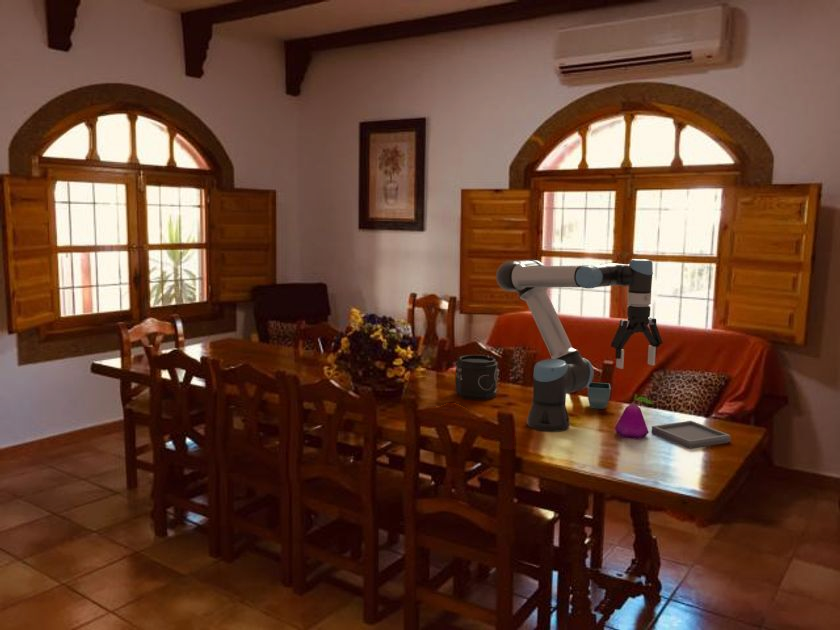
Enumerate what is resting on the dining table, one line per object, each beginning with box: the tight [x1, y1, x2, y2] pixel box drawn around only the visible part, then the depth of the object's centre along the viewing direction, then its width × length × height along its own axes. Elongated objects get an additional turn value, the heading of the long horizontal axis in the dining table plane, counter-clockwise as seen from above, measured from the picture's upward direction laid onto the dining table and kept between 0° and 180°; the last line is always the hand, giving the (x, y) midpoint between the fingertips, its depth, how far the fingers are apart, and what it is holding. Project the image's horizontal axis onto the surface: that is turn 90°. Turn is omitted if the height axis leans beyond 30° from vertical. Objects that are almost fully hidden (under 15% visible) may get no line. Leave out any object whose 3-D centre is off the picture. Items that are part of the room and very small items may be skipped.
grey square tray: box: [651, 420, 731, 450], centre depth 249 cm, size 18×18×2 cm
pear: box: [614, 393, 654, 440], centre depth 250 cm, size 11×11×15 cm
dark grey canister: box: [454, 354, 499, 401], centre depth 301 cm, size 18×18×16 cm
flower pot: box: [586, 381, 612, 410], centre depth 285 cm, size 9×9×9 cm
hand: (635, 366), depth 248 cm, fingers open, 13 cm apart
